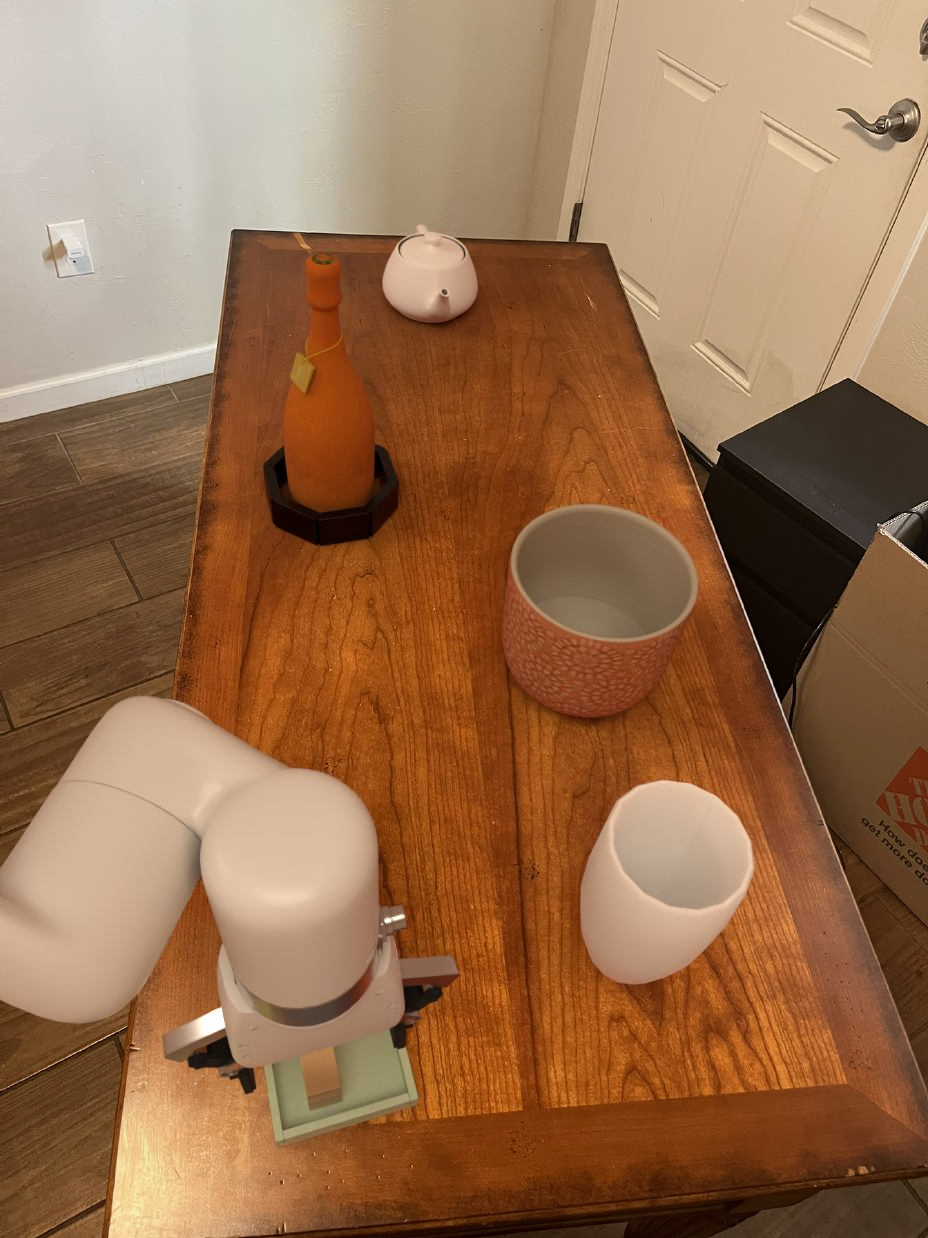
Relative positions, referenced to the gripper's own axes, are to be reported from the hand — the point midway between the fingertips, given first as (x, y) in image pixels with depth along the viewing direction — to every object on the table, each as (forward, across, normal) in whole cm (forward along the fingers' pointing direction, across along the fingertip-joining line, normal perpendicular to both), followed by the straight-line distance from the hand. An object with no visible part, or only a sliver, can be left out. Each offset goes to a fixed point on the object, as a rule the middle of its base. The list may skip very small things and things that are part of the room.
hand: (322, 1046), depth 61 cm
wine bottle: (+10, -13, -62) cm, 64 cm away
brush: (+10, -1, -8) cm, 13 cm away
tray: (+10, -1, -8) cm, 13 cm away
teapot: (+10, -35, -99) cm, 105 cm away
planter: (+10, -32, -32) cm, 46 cm away
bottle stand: (+10, -13, -62) cm, 64 cm away
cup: (+11, -24, -3) cm, 26 cm away
